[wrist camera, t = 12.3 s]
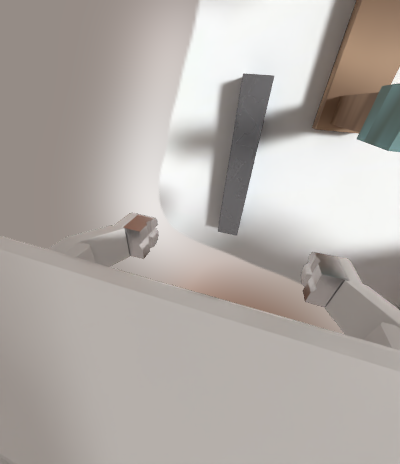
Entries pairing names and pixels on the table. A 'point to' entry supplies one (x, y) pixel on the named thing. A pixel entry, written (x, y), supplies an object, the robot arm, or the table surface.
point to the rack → (366, 77)
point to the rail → (244, 148)
